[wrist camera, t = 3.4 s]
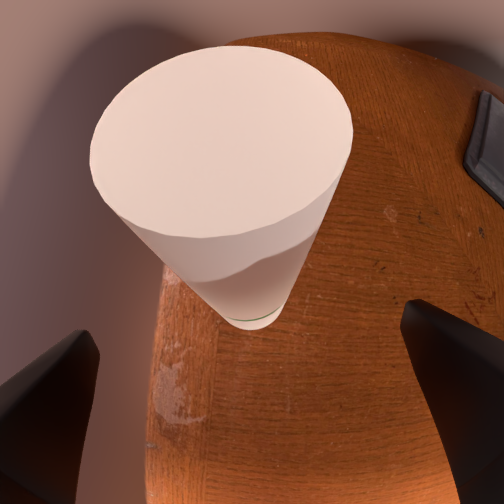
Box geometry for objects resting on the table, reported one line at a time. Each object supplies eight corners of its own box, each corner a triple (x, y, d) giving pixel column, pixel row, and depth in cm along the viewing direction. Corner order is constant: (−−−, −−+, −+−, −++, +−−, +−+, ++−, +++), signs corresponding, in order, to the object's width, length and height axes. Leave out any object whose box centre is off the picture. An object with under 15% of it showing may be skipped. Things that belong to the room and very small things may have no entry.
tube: (203, 305, 18) (50, 161, 4) (241, 251, 19) (200, 32, 5) (260, 343, 17) (253, 308, 3) (297, 286, 18) (385, 96, 4)
